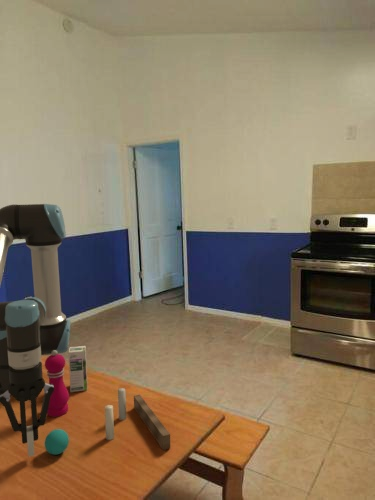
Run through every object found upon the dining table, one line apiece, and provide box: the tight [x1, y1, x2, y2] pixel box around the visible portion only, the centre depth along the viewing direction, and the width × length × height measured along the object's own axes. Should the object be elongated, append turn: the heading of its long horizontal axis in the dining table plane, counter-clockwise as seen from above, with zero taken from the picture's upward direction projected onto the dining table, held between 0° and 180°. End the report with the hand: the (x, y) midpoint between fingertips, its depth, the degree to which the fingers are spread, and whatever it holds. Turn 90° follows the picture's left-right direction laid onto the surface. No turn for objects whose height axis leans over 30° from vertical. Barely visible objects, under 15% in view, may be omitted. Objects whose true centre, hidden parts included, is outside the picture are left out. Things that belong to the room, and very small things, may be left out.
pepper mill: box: [44, 350, 70, 418], centre depth 120 cm, size 7×7×20 cm
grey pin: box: [117, 387, 127, 421], centre depth 117 cm, size 2×2×9 cm
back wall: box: [133, 394, 171, 451], centre depth 113 cm, size 24×2×4 cm, turn 26°
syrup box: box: [68, 345, 88, 393], centre depth 136 cm, size 6×6×14 cm
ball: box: [44, 428, 70, 456], centre depth 101 cm, size 6×6×6 cm
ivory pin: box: [104, 404, 115, 441], centre depth 107 cm, size 2×2×9 cm
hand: (31, 452), depth 98 cm, fingers closed
